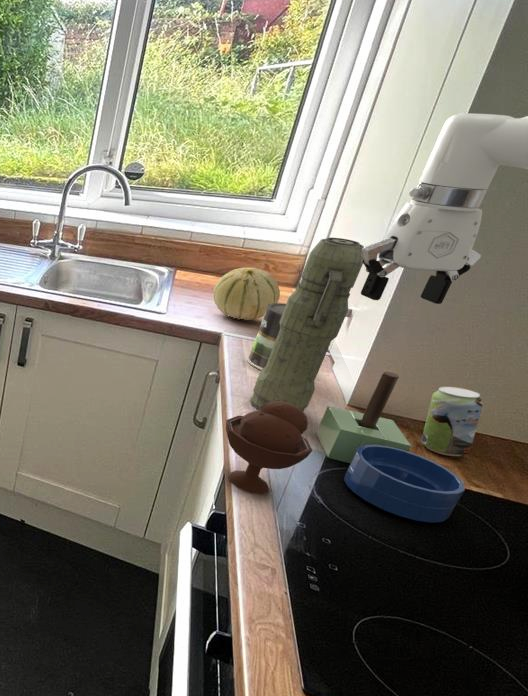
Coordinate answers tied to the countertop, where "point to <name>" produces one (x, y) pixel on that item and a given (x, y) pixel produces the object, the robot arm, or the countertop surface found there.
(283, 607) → the countertop surface
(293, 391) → the thermos
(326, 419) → the utensil holder
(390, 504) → the mixing bowl
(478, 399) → the beverage can
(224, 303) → the cantaloupe
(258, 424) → the ice cream bowl
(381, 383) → the stirring stick
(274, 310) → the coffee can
